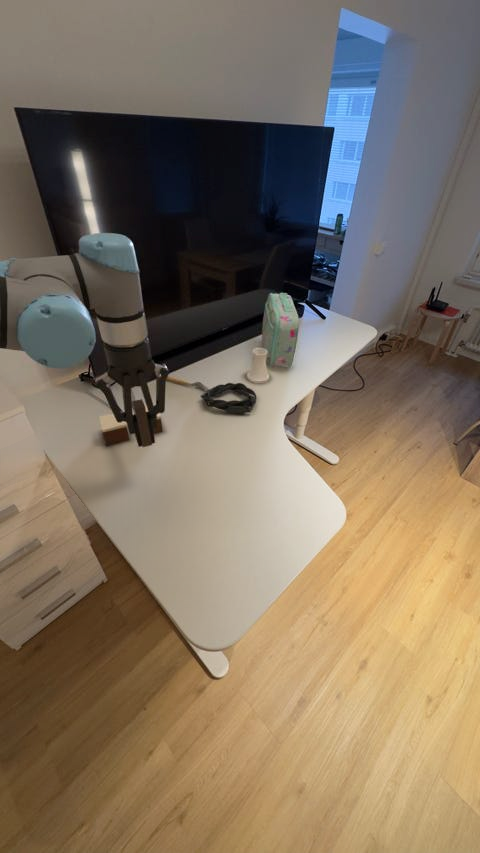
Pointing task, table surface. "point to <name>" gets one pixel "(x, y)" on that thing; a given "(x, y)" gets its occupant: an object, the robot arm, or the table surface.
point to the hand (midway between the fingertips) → (145, 440)
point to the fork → (197, 384)
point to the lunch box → (280, 330)
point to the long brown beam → (141, 420)
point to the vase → (258, 367)
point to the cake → (113, 430)
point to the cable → (232, 405)
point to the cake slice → (159, 427)
